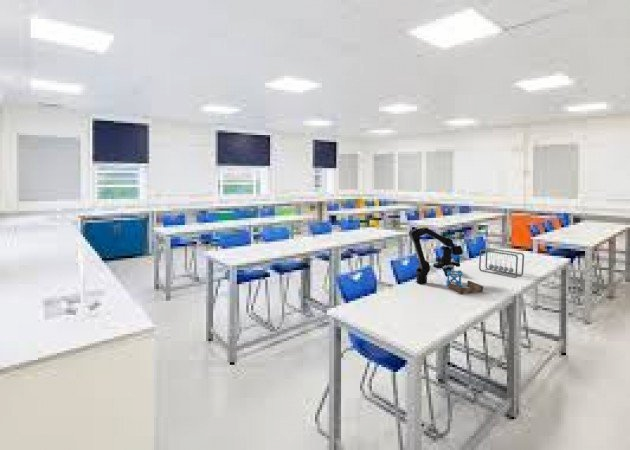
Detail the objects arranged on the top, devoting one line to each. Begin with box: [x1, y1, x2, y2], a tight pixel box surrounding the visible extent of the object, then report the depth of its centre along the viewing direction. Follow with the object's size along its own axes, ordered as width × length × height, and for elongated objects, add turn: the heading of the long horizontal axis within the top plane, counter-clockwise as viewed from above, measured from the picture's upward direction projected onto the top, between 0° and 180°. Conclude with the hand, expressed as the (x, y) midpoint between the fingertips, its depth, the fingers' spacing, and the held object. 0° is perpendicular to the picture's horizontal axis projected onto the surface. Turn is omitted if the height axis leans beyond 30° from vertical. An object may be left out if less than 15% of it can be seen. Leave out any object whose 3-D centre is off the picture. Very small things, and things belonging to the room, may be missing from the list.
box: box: [447, 280, 484, 295], centre depth 250 cm, size 16×14×4 cm
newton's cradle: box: [478, 247, 525, 279], centre depth 292 cm, size 30×10×18 cm, turn 36°
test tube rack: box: [439, 255, 456, 277], centre depth 297 cm, size 25×4×13 cm, turn 0°
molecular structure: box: [445, 270, 463, 288], centre depth 261 cm, size 10×10×10 cm
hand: (446, 276), depth 270 cm, fingers closed
